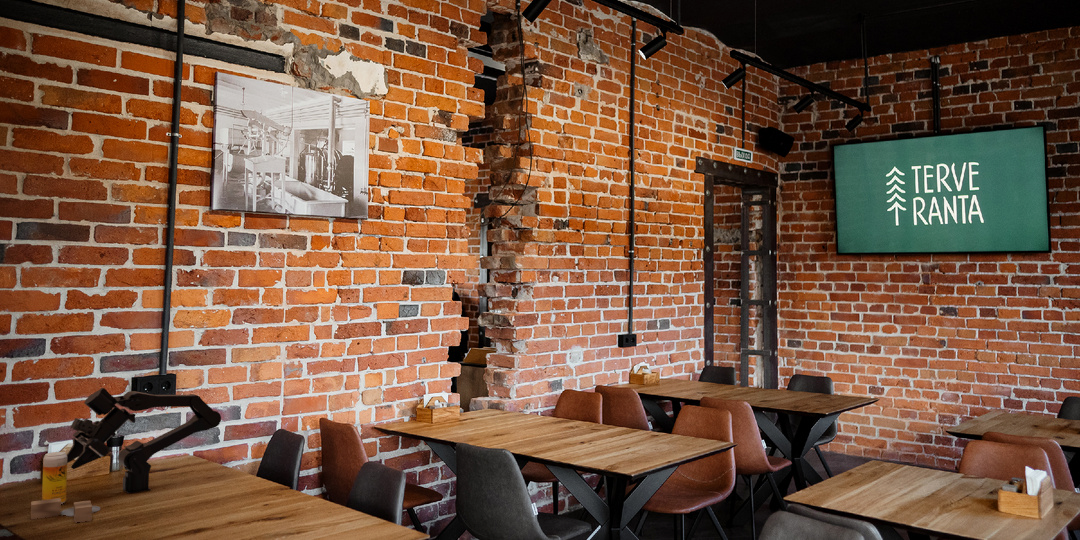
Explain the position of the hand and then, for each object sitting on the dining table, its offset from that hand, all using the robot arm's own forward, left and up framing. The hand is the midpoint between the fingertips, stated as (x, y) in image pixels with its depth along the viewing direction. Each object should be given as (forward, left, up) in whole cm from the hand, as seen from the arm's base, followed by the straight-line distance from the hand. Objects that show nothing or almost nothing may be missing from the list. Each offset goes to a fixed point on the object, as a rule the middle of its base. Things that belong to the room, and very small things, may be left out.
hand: (68, 465), depth 231 cm
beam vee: (+2, +14, -11) cm, 18 cm away
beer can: (+3, 0, -11) cm, 12 cm away
